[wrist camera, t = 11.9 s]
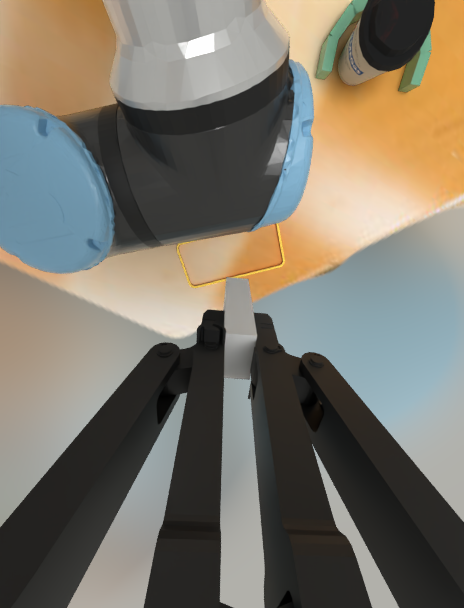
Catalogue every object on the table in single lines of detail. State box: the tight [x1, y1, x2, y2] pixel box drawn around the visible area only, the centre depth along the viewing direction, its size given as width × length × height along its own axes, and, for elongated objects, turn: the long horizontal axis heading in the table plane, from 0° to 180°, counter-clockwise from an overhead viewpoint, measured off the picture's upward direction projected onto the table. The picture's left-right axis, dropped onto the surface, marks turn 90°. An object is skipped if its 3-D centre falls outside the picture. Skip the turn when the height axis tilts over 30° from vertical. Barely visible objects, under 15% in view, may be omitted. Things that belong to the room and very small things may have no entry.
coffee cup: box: [338, 0, 435, 86], centre depth 28 cm, size 7×7×10 cm
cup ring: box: [316, 0, 431, 92], centre depth 30 cm, size 12×8×2 cm, turn 83°
